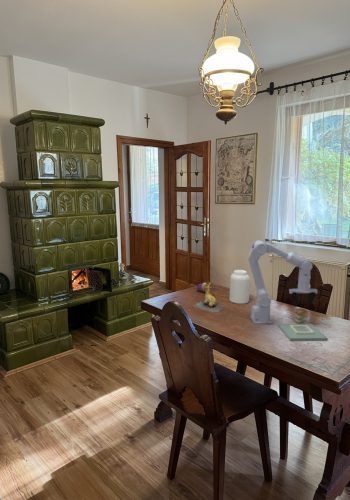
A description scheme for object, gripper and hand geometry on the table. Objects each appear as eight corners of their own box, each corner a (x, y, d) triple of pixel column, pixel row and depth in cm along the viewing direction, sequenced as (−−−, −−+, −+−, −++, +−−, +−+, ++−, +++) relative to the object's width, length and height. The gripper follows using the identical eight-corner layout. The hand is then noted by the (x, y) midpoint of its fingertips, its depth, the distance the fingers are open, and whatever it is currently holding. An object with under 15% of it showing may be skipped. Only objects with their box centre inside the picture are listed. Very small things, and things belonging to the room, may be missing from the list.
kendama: (208, 293, 224) (195, 283, 242) (209, 301, 226) (196, 291, 244) (216, 290, 226) (202, 281, 244) (217, 299, 228) (203, 288, 246)
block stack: (298, 324, 183) (299, 311, 181) (294, 321, 187) (295, 308, 186) (307, 324, 183) (308, 311, 181) (303, 321, 188) (304, 308, 186)
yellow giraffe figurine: (203, 300, 223) (204, 276, 219) (228, 306, 213) (230, 282, 209) (190, 307, 210) (191, 283, 206) (216, 315, 200) (217, 288, 196)
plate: (290, 340, 163) (290, 336, 163) (277, 326, 181) (277, 322, 180) (327, 340, 164) (327, 336, 163) (311, 325, 181) (311, 321, 181)
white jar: (242, 305, 213) (244, 274, 209) (225, 301, 221) (226, 270, 218) (252, 300, 222) (254, 270, 219) (235, 296, 230) (236, 267, 227)
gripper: (293, 283, 177) (291, 308, 179) (320, 283, 178) (318, 308, 180) (288, 280, 184) (286, 304, 186) (314, 280, 185) (312, 304, 187)
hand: (302, 306), depth 184 cm, fingers open, 7 cm apart
